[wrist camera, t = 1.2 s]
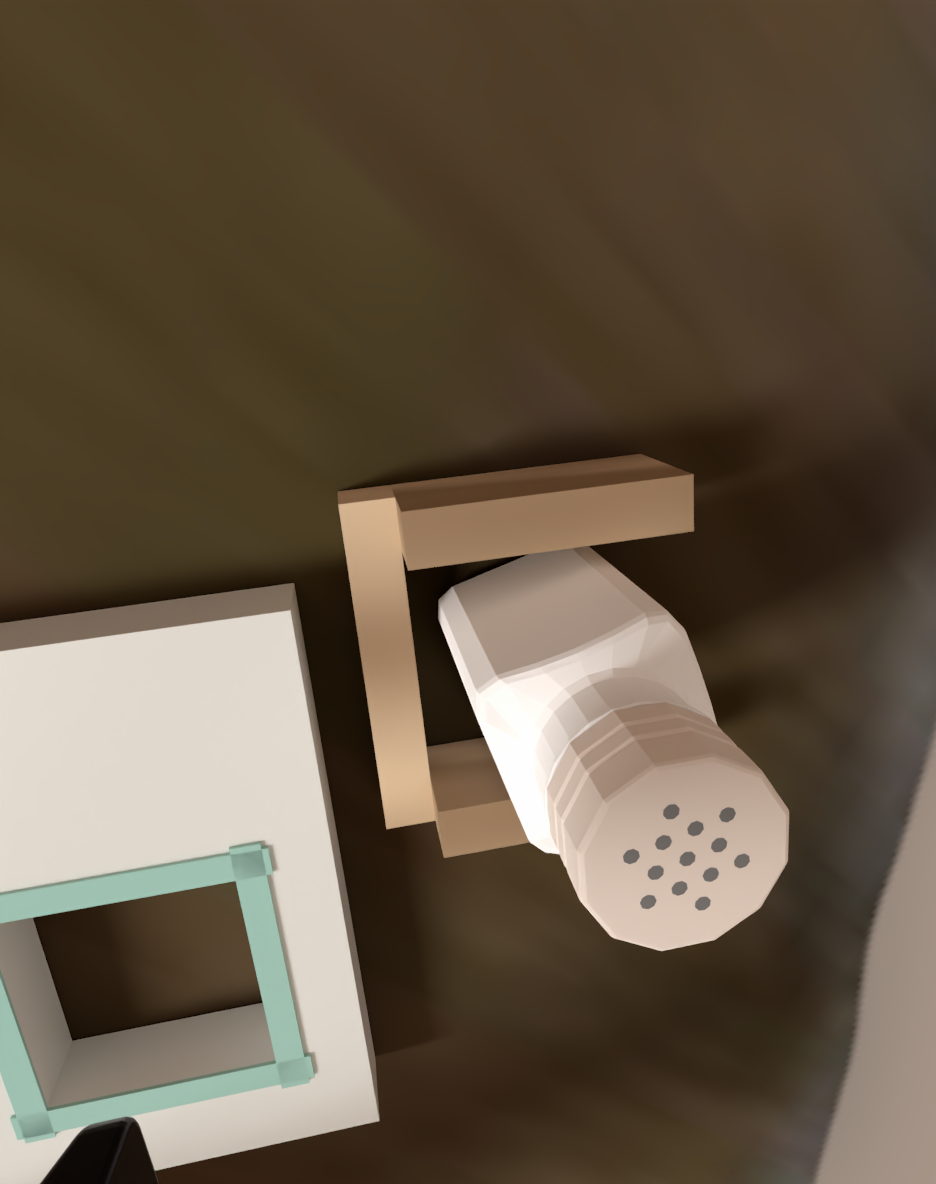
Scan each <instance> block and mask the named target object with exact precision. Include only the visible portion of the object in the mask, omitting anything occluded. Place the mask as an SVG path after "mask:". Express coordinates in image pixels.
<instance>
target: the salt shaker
mask: <svg viewBox="0 0 936 1184" xmlns="http://www.w3.org/2000/svg"><path fill="white" fill-rule="evenodd" d="M438 619H439V622H440V625H441V627H442V630H443V632H444V635H445V638H446V640H447V643H448V645H449V648H450V651H451V653H452V656H453V658H454V661H455V663H456V666H457V669H458V671H459V674H460V676H461V679H462V682H463V684H464V687H465V689H466V692H467V695H468V697H469V700H470V702H471V705H472V708H473V710H474V713H475V715H476V718H477V720H478V723H479V725H480V727H481V730H482V732H483V735H484V737H485V739H486V742H487V744H488V746H489V749H490V751H491V754H492V756H493V758H494V761H495V763H496V765H497V768H498V770H499V773H500V775H501V777H502V780H503V782H504V784H505V787H506V789H507V791H508V794H509V796H510V798H511V801H512V803H513V805H514V808H515V810H516V812H517V815H518V817H519V819H520V822H521V824H522V826H523V829H524V831H525V833H526V836H527V838H528V840H529V841H530V842H531V843H532V844H533V845H535V846H536V847H538V848H539V849H541V850H542V851H544V852H545V853H555V854H560V856H561V859H562V861H563V863H564V866H565V867H566V868H567V872H568V875H569V877H570V879H571V881H572V884H573V886H574V888H575V890H576V893H577V895H578V897H579V899H580V901H581V902H582V904H583V905H584V906H585V907H586V908H587V909H588V911H589V912H590V913H591V914H592V915H593V916H594V917H595V919H596V920H597V921H598V922H599V923H600V924H601V926H602V927H603V928H604V929H605V930H606V931H607V932H608V934H609V935H610V936H611V937H613V938H615V939H619V940H623V941H626V942H630V943H634V944H637V945H641V946H645V947H648V948H652V949H656V950H659V951H665V950H670V949H674V948H679V947H684V946H689V945H693V944H698V943H703V942H708V941H712V940H716V939H717V938H718V937H720V936H721V935H723V934H724V933H725V932H727V931H728V930H730V929H731V928H733V927H734V926H735V925H737V924H738V923H740V922H741V921H742V920H744V919H745V918H747V917H748V916H749V915H751V914H752V913H754V912H755V911H757V910H758V909H759V908H761V906H762V904H763V903H764V901H765V899H766V898H767V896H768V894H769V893H770V891H771V889H772V888H773V886H774V884H775V882H776V881H777V879H778V877H779V876H780V874H781V872H782V871H783V869H784V867H785V866H786V864H787V862H788V835H789V810H788V808H787V807H786V805H785V804H784V802H783V801H782V800H781V798H780V797H779V795H778V794H777V792H776V791H775V789H774V788H773V786H772V785H771V783H770V782H769V781H768V779H767V778H766V776H765V775H764V773H763V772H762V770H761V769H760V768H759V767H758V766H757V765H756V764H755V763H754V762H753V761H752V760H751V759H750V758H749V757H748V756H747V755H746V754H745V753H744V752H743V751H742V750H741V749H740V748H738V747H737V746H736V745H735V743H734V742H733V741H732V740H731V739H730V738H729V737H728V736H727V735H726V734H724V733H723V732H722V730H721V729H720V728H719V727H718V726H717V722H716V719H715V715H714V712H713V708H712V704H711V701H710V698H709V695H708V692H707V689H706V686H705V683H704V680H703V677H702V674H701V671H700V668H699V665H698V663H697V660H696V657H695V654H694V652H693V649H692V646H691V644H690V641H689V638H688V636H687V633H686V631H685V629H684V628H683V627H682V626H681V625H680V624H679V623H678V622H677V620H676V619H675V618H674V617H673V616H672V615H671V614H670V613H669V612H668V611H667V610H666V609H665V608H663V607H662V606H661V605H660V604H658V603H657V602H656V601H655V600H654V599H652V598H651V597H650V596H649V595H647V594H646V593H645V592H644V591H643V590H641V589H640V588H639V587H638V586H637V585H635V584H634V583H633V582H632V581H630V580H629V579H628V578H627V577H626V576H624V575H623V574H622V573H621V572H619V571H618V570H617V569H616V568H615V567H613V566H612V565H611V564H610V563H608V562H607V561H606V560H605V559H604V558H602V557H601V556H600V555H599V554H597V553H596V552H595V551H594V550H593V549H591V548H590V547H589V546H584V547H577V548H570V549H562V550H555V551H548V552H541V553H533V554H529V555H526V556H524V557H522V558H519V559H517V560H514V561H512V562H510V563H507V564H505V565H502V566H500V567H498V568H495V569H493V570H490V571H488V572H486V573H483V574H481V575H478V576H476V577H474V578H471V579H469V580H467V581H464V582H462V583H459V584H457V585H455V586H452V587H451V588H450V589H449V590H448V591H447V592H446V593H445V594H444V595H443V596H442V597H441V598H440V599H439V600H438Z"/></svg>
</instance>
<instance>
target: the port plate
mask: <svg viewBox="0 0 936 1184" xmlns="http://www.w3.org/2000/svg"><path fill="white" fill-rule="evenodd" d="M232 881H236V884H237V889H238V893H239V898H240V902H241V907H242V911H243V916H244V920H245V925H246V929H247V934H248V938H249V943H250V947H251V952H252V956H253V961H254V965H255V970H256V974H257V979H258V983H259V988H260V992H261V997H262V1001H263V1003H259V1004H254V1005H249V1006H244V1007H239V1008H234V1009H229V1010H224V1011H219V1012H214V1013H209V1014H204V1015H199V1016H194V1017H188V1018H183V1019H178V1020H173V1021H168V1022H163V1023H158V1024H153V1025H148V1026H143V1027H138V1028H133V1029H128V1030H123V1031H118V1032H113V1033H108V1034H103V1035H98V1036H93V1037H88V1038H83V1039H78V1040H73V1041H72V1038H71V1035H70V1032H69V1029H68V1026H67V1023H66V1020H65V1017H64V1013H63V1010H62V1007H61V1004H60V1001H59V998H58V995H57V992H56V989H55V985H54V982H53V979H52V976H51V973H50V970H49V967H48V964H47V961H46V958H45V954H44V951H43V948H42V945H41V942H40V939H39V936H38V933H37V930H36V926H35V923H34V920H33V917H39V916H44V915H50V914H55V913H61V912H66V911H72V910H77V909H83V908H88V907H94V906H99V905H105V904H110V903H116V902H121V901H127V900H132V899H138V898H144V897H149V896H155V895H160V894H166V893H171V892H177V891H182V890H188V889H193V888H199V887H204V886H210V885H215V884H221V883H226V882H232ZM126 1116H127V1117H133V1118H134V1119H135V1120H136V1121H137V1122H138V1124H139V1126H140V1128H141V1131H142V1134H143V1137H144V1140H145V1143H146V1146H147V1149H148V1152H149V1155H150V1158H151V1161H152V1164H153V1167H154V1170H155V1171H156V1170H160V1169H165V1168H169V1167H174V1166H178V1165H183V1164H187V1163H192V1162H197V1161H201V1160H206V1159H210V1158H215V1157H219V1156H224V1155H228V1154H233V1153H237V1152H242V1151H246V1150H251V1149H255V1148H260V1147H264V1146H269V1145H273V1144H278V1143H282V1142H287V1141H291V1140H296V1139H300V1138H305V1137H309V1136H314V1135H318V1134H323V1133H327V1132H332V1131H336V1130H341V1129H345V1128H350V1127H354V1126H359V1125H363V1124H368V1123H372V1122H377V1121H379V1106H378V1091H377V1076H376V1061H375V1053H374V1047H373V1042H372V1036H371V1030H370V1024H369V1018H368V1012H367V1006H366V1001H365V995H364V989H363V983H362V977H361V971H360V966H359V960H358V954H357V948H356V942H355V936H354V930H353V925H352V919H351V913H350V907H349V901H348V895H347V890H346V884H345V878H344V872H343V866H342V860H341V854H340V849H339V843H338V837H337V831H336V825H335V819H334V813H333V808H332V802H331V796H330V790H329V784H328V778H327V773H326V767H325V761H324V755H323V749H322V743H321V737H320V732H319V726H318V720H317V714H316V708H315V702H314V697H313V691H312V685H311V679H310V673H309V667H308V661H307V656H306V650H305V644H304V638H303V632H302V626H301V620H300V615H299V609H298V603H297V597H296V591H295V585H294V583H289V584H282V585H275V586H268V587H260V588H253V589H246V590H239V591H231V592H224V593H217V594H209V595H202V596H195V597H188V598H180V599H173V600H166V601H159V602H151V603H144V604H137V605H130V606H122V607H115V608H108V609H100V610H93V611H86V612H79V613H71V614H64V615H57V616H50V617H42V618H35V619H28V620H20V621H13V622H6V623H0V1184H40V1183H41V1181H42V1180H43V1179H44V1177H45V1176H46V1175H47V1174H48V1172H49V1171H50V1170H51V1168H52V1167H53V1166H54V1164H55V1163H56V1162H57V1160H58V1159H59V1158H60V1156H61V1155H62V1154H63V1152H64V1151H65V1150H66V1148H67V1147H68V1146H69V1144H70V1143H71V1142H72V1140H73V1139H74V1138H75V1136H76V1135H77V1134H78V1133H79V1132H80V1131H81V1130H82V1129H84V1128H85V1127H87V1126H88V1125H91V1124H94V1123H98V1122H103V1121H107V1120H112V1119H117V1118H121V1117H126Z"/></svg>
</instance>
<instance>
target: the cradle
mask: <svg viewBox="0 0 936 1184" xmlns="http://www.w3.org/2000/svg"><path fill="white" fill-rule="evenodd" d="M338 506H339V513H340V519H341V526H342V533H343V540H344V546H345V553H346V560H347V567H348V573H349V580H350V587H351V593H352V600H353V607H354V614H355V620H356V627H357V634H358V641H359V647H360V654H361V661H362V668H363V674H364V681H365V688H366V695H367V701H368V708H369V715H370V722H371V728H372V735H373V742H374V749H375V755H376V762H377V769H378V776H379V782H380V789H381V796H382V803H383V809H384V816H385V823H386V829H391V828H397V827H402V826H408V825H414V824H419V823H425V822H431V821H436V825H437V829H438V834H439V838H440V843H441V847H442V852H443V856H444V858H447V857H452V856H458V855H463V854H468V853H474V852H479V851H485V850H490V849H496V848H501V847H507V846H512V845H518V844H523V843H528V842H530V841H529V840H528V838H527V836H526V833H525V831H524V829H523V826H522V824H521V822H520V819H519V817H518V815H517V812H516V810H515V808H514V805H513V803H512V801H511V798H510V796H509V794H508V791H507V789H506V787H505V784H504V782H503V780H502V777H501V775H500V773H499V770H498V768H497V765H496V763H495V761H494V758H493V756H492V754H491V751H490V749H489V746H488V744H487V742H486V739H485V737H483V738H477V739H471V740H465V741H459V742H453V743H447V744H441V745H435V746H429V747H426V740H425V732H424V724H423V716H422V708H421V700H420V692H419V684H418V676H417V668H416V660H415V652H414V644H413V636H412V628H411V620H410V612H409V604H408V596H407V588H406V580H405V572H404V564H403V556H404V559H405V562H406V565H407V568H408V571H410V570H418V569H425V568H432V567H439V566H447V565H454V564H461V563H468V562H475V561H483V560H490V559H497V558H504V557H512V556H519V555H526V554H533V553H541V552H548V551H555V550H562V549H570V548H577V547H584V546H591V545H599V544H606V543H613V542H620V541H628V540H635V539H642V538H649V537H657V536H664V535H671V534H678V533H685V532H693V531H694V474H691V473H689V472H686V471H684V470H681V469H679V468H676V467H673V466H671V465H668V464H666V463H663V462H660V461H658V460H655V459H653V458H650V457H647V456H645V455H642V454H635V455H627V456H619V457H611V458H603V459H595V460H587V461H579V462H571V463H562V464H554V465H546V466H538V467H530V468H522V469H514V470H506V471H498V472H490V473H482V474H474V475H466V476H458V477H450V478H442V479H434V480H426V481H418V482H410V483H402V484H394V485H386V486H378V487H370V488H362V489H354V490H346V491H338ZM402 553H403V556H402Z"/></svg>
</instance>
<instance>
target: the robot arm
mask: <svg viewBox="0 0 936 1184" xmlns="http://www.w3.org/2000/svg"><path fill="white" fill-rule="evenodd" d="M40 1184H159V1183H158V1179H157V1176H156V1173H155V1170H154V1167H153V1164H152V1161H151V1158H150V1155H149V1152H148V1149H147V1146H146V1143H145V1140H144V1137H143V1134H142V1131H141V1128H140V1126H139V1124H138V1122H137V1121H136V1120H135V1119H134V1118H133V1117H127V1116H126V1117H121V1118H117V1119H112V1120H107V1121H103V1122H98V1123H94V1124H91V1125H88V1126H87V1127H85V1128H84V1129H82V1130H81V1131H80V1132H79V1133H78V1134H77V1135H76V1136H75V1138H74V1139H73V1140H72V1142H71V1143H70V1144H69V1146H68V1147H67V1148H66V1150H65V1151H64V1152H63V1154H62V1155H61V1156H60V1158H59V1159H58V1160H57V1162H56V1163H55V1164H54V1166H53V1167H52V1168H51V1170H50V1171H49V1172H48V1174H47V1175H46V1176H45V1177H44V1179H43V1180H42V1181H41V1183H40Z"/></svg>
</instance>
